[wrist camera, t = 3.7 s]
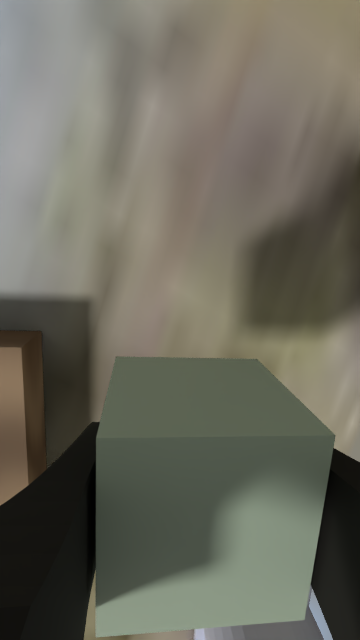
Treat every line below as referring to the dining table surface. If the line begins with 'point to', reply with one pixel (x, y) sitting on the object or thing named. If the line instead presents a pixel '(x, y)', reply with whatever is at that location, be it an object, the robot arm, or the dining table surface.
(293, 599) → the cube
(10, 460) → the base block
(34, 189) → the dining table surface
